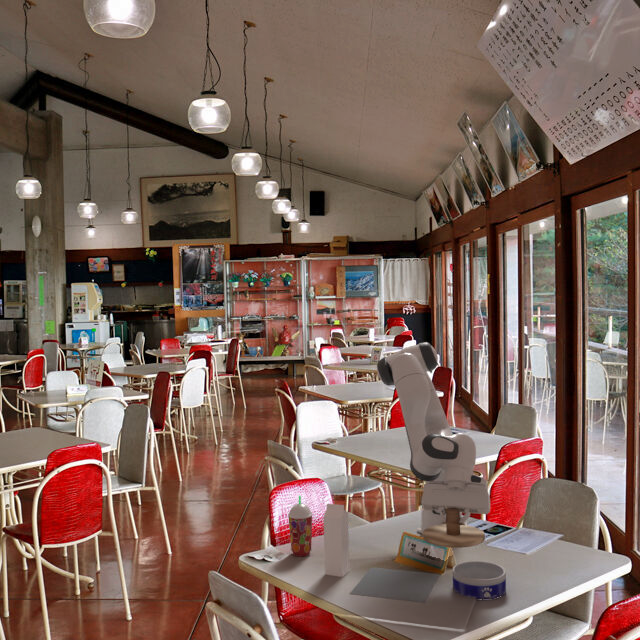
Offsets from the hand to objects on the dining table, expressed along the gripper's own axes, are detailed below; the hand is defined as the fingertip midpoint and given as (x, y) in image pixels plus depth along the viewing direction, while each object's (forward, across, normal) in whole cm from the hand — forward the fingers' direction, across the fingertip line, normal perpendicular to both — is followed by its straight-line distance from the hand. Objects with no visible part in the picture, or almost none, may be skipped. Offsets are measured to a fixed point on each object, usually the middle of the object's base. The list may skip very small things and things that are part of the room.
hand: (452, 523), depth 206 cm
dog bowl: (+13, +7, +15) cm, 21 cm away
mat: (+15, -17, +12) cm, 26 cm away
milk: (+13, -37, +14) cm, 42 cm away
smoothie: (+3, -56, +24) cm, 61 cm away
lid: (+3, 0, +3) cm, 4 cm away
